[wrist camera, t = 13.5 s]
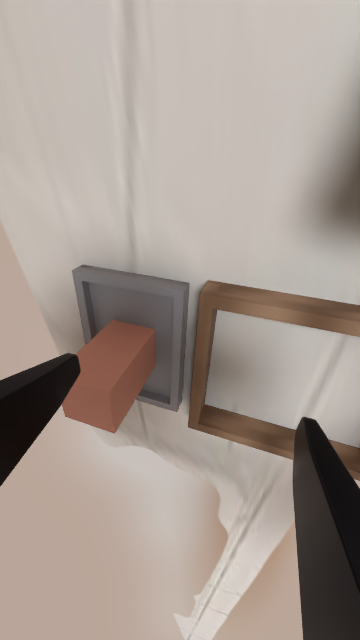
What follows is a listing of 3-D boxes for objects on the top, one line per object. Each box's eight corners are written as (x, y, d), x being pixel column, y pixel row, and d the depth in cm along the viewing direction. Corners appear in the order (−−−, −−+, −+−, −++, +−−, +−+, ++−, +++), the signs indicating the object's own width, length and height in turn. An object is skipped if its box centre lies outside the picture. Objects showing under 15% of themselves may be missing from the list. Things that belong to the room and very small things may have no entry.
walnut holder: (473, 324, 16) (500, 347, 14) (370, 459, 24) (378, 486, 22) (208, 280, 20) (200, 293, 18) (194, 408, 28) (187, 427, 26)
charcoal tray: (189, 283, 21) (183, 290, 20) (181, 401, 29) (177, 411, 27) (82, 264, 24) (72, 270, 22) (101, 378, 31) (93, 387, 30)
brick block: (155, 329, 24) (108, 392, 17) (155, 365, 26) (114, 433, 20) (112, 319, 25) (53, 375, 18) (116, 355, 27) (65, 416, 21)
